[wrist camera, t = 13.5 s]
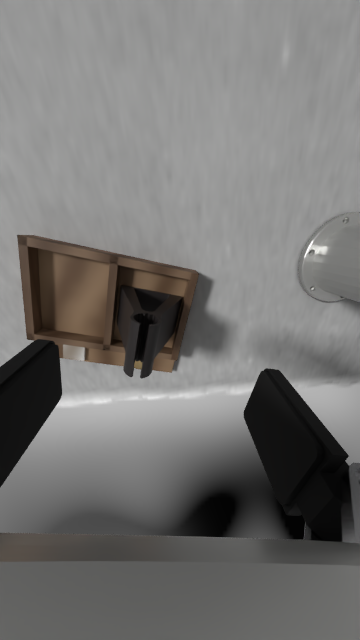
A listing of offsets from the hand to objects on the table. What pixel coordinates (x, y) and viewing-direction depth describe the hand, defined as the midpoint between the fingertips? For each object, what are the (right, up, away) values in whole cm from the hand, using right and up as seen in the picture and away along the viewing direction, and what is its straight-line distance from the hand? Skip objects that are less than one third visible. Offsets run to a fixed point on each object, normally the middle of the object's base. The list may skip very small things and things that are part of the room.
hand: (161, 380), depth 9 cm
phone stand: (-4, +5, +20) cm, 21 cm away
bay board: (-10, +4, +21) cm, 23 cm away
